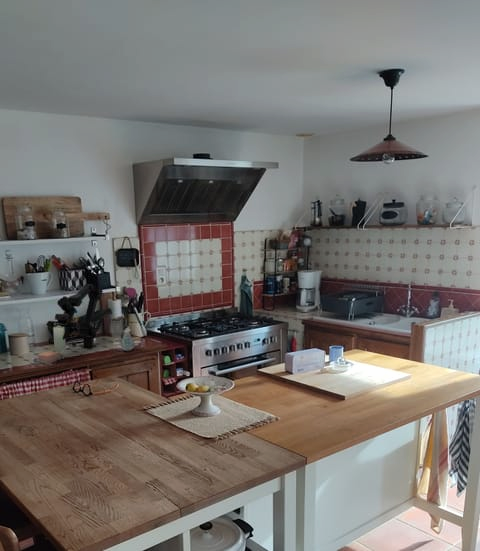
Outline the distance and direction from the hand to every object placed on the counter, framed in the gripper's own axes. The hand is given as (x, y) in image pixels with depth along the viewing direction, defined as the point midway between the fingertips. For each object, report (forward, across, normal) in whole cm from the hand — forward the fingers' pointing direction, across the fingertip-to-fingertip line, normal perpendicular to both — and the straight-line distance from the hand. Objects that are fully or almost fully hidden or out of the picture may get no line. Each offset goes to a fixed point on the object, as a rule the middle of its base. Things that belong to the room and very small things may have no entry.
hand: (58, 338), depth 279 cm
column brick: (+4, 0, +6) cm, 7 cm away
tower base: (+8, -8, +11) cm, 16 cm away
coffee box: (-22, +15, +42) cm, 50 cm away
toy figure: (-11, +28, +30) cm, 43 cm away
